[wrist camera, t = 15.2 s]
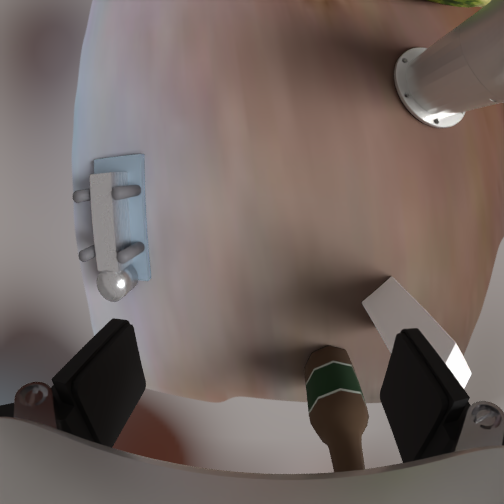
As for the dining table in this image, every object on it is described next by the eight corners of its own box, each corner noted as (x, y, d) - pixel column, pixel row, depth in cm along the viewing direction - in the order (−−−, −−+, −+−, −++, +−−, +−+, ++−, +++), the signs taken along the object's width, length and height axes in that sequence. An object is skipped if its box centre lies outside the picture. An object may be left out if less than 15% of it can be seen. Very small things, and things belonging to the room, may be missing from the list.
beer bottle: (303, 346, 43) (317, 479, 20) (353, 341, 42) (398, 466, 19) (303, 384, 45) (313, 509, 22) (349, 379, 44) (381, 499, 21)
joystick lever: (104, 174, 38) (86, 175, 33) (131, 171, 37) (114, 171, 33) (114, 288, 42) (99, 300, 38) (139, 291, 42) (126, 303, 37)
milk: (391, 275, 39) (473, 358, 18) (410, 302, 40) (487, 389, 19) (360, 302, 41) (417, 405, 19) (381, 328, 41) (438, 429, 20)
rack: (98, 159, 38) (71, 159, 32) (144, 154, 38) (121, 151, 31) (107, 275, 43) (84, 290, 36) (151, 278, 42) (131, 295, 36)
